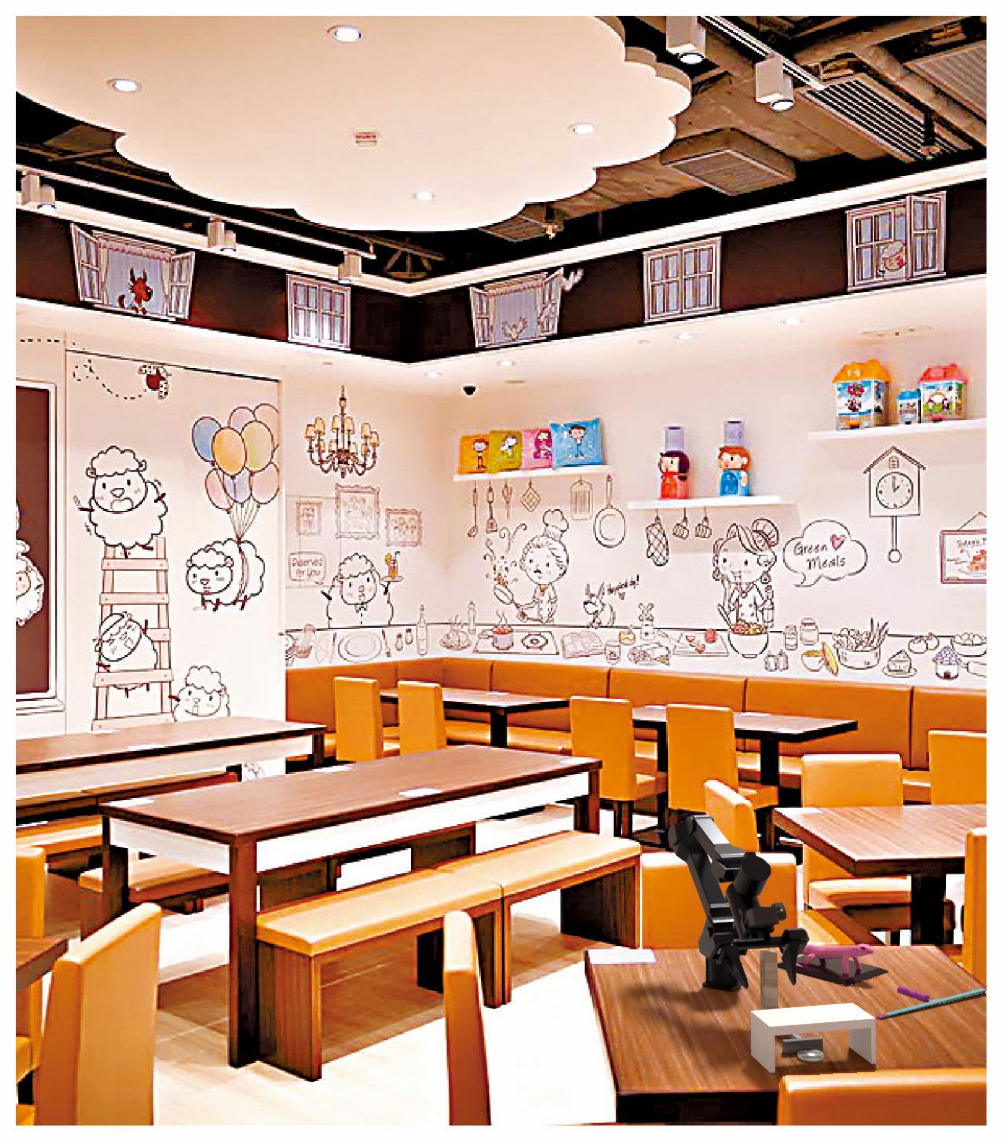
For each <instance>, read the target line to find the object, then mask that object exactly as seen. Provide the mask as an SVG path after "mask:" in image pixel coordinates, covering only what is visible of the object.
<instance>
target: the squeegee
mask: <svg viewBox="0 0 1005 1144" xmlns="http://www.w3.org/2000/svg"><path fill="white" fill-rule="evenodd" d="M986 990H987V989H985V988H982V987H981V988H979V989H973V990H970V991H966V992H963V993H958V994H954V995H951V996H947V997H943V998H940V999H938V998H935V999H931V997H930V996H929V995H928V994H924V993H919V992H917V991H914V990H910V989H909V988H908V987H905V986H902V985H898V987H897V988H896V992H897V991H898V992H897V993H899V992H900V993H899V994H902V993H903V995H905V996H908V995H910V996H909V997H911V996H912V997H911V998H914V999H916V998H918V999H917V1000H919V1001H921V1000H922V1002H924V1003H920V1004H917V1005H912V1006H908V1007H905V1008H901V1009H897V1010H894V1011H893V1010H892V1011H889V1012H886V1013H881V1014H878V1015H876V1017H875V1019H877V1018H878V1019H877V1020H882V1019H885V1017H886V1018H888V1017H892V1015H893V1016H896V1015H899V1014H898V1013H901V1014H904V1013H909V1011H910V1012H912V1010H914V1011H916V1010H915V1009H918V1010H921V1008H922V1009H925V1008H924V1007H927V1008H929V1007H928V1006H931V1007H934V1006H933V1005H935V1006H937V1005H936V1004H939V1003H943V1002H948V1003H951V1002H950V1001H952V1002H954V1001H953V1000H956V999H958V998H964V997H966V996H968V995H975V994H981V995H986V994H985V991H986ZM983 993H984V994H983ZM956 1001H957V1000H956ZM943 1004H944V1003H943ZM939 1005H940V1004H939Z"/></svg>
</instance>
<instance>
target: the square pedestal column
mask: <svg viewBox="0 0 1005 1144" xmlns="http://www.w3.org/2000/svg"><path fill="white" fill-rule="evenodd" d="M778 963H779V962H778V953H777V952H776V951H774V950H773V949H766V950H764V949H762V950H759V984H760V986H759V988H760V989H759V991H760V1010H768V1009H779V984H778V983H779V981H778V980H779V974H778V973H779V972H778V971H779V970H778V969H779V968H778ZM787 1036H788V1037H789V1039H782V1041H781V1042H782V1044H781V1046H782V1053H784V1054H795V1053H796V1054H797V1051H798V1050H801V1049H815V1050H819V1051H821V1052H823V1051H824V1039H823V1038H822V1036H814V1037H812V1036H811V1037H802V1036H801V1035H800V1034H788V1035H787Z"/></svg>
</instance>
